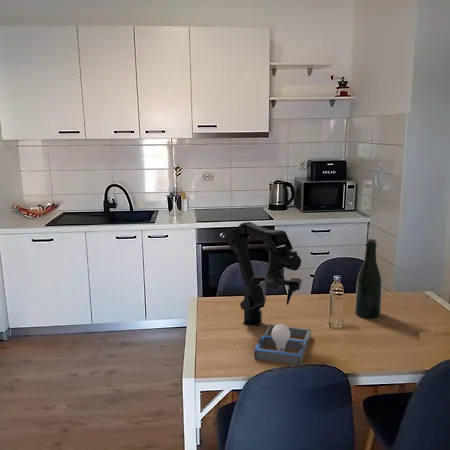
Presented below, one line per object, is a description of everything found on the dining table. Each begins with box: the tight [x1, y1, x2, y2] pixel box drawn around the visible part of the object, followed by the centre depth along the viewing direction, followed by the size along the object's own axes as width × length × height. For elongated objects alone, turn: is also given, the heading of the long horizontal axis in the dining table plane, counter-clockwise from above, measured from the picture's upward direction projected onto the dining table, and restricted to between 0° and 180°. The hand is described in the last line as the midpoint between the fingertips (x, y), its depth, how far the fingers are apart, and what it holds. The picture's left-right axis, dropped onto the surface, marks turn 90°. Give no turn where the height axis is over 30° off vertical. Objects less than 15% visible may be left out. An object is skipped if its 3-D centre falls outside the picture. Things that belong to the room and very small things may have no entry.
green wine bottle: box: [354, 238, 383, 320], centre depth 191 cm, size 10×10×33 cm
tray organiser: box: [253, 324, 312, 366], centre depth 166 cm, size 16×23×5 cm
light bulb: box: [270, 323, 291, 352], centre depth 160 cm, size 7×7×11 cm
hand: (275, 303), depth 174 cm, fingers open, 9 cm apart
